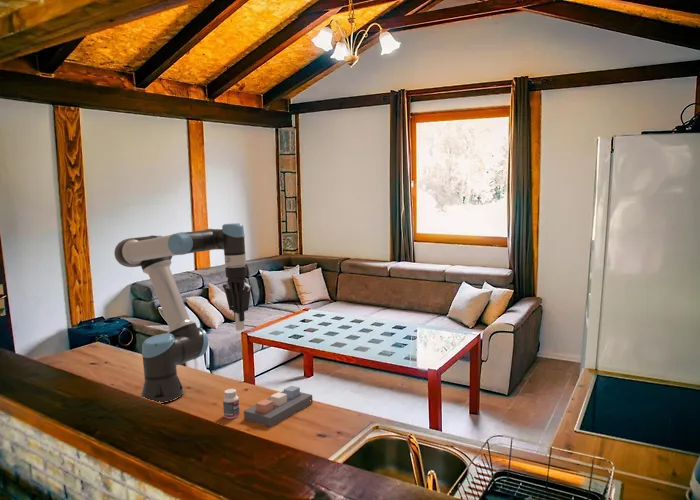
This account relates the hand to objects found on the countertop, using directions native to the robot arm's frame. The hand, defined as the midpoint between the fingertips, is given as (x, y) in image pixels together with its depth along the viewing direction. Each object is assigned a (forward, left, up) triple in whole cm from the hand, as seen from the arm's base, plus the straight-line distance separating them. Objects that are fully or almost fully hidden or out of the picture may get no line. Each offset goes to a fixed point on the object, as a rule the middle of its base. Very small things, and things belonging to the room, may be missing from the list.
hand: (240, 329), depth 192 cm
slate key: (+19, +5, -25) cm, 32 cm away
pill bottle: (+7, -13, -27) cm, 30 cm away
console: (+19, -2, -26) cm, 33 cm away
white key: (+19, -2, -25) cm, 31 cm away
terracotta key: (+19, -9, -25) cm, 32 cm away
